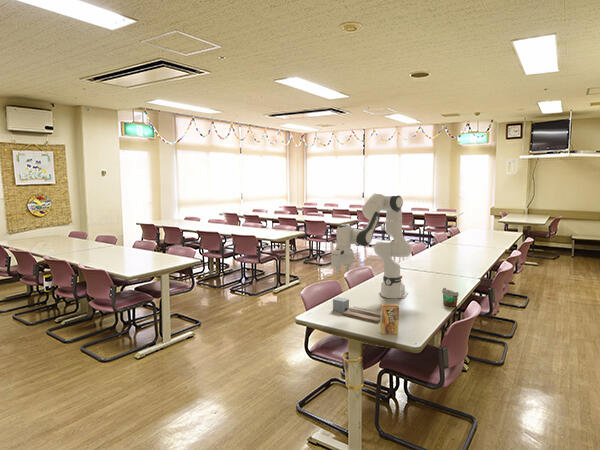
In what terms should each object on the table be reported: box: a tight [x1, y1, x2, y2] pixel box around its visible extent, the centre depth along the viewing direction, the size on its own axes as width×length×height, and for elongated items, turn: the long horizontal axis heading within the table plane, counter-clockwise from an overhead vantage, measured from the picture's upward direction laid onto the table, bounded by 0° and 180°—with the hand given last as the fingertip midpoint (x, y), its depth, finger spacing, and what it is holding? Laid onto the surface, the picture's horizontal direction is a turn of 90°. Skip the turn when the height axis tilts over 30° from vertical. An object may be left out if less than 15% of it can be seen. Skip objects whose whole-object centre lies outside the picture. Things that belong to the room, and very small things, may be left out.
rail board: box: [342, 306, 381, 324], centre depth 234 cm, size 14×23×3 cm, turn 52°
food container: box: [441, 287, 460, 308], centre depth 253 cm, size 12×6×10 cm, turn 21°
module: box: [332, 296, 350, 313], centre depth 244 cm, size 6×8×7 cm
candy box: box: [379, 303, 400, 335], centre depth 207 cm, size 9×4×15 cm, turn 93°
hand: (342, 272), depth 242 cm, fingers open, 8 cm apart
